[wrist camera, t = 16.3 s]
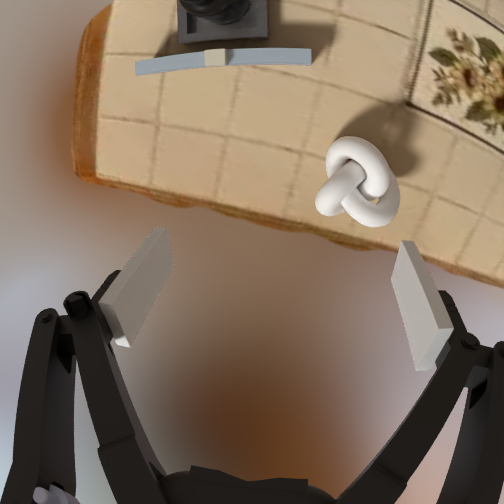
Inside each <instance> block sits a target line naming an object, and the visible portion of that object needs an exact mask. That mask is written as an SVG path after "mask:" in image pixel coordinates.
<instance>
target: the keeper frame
mask: <svg viewBox="0 0 504 504" xmlns="http://www.w3.org/2000/svg"><path fill="white" fill-rule="evenodd" d="M177 15H178V44H183V45H187V44H195V43H204V42H214V41H226V40H243V39H269V10H268V0H249V6H248V9H247V10H246V12H245V13H244V15H243V16H242V17H240V18H239V19H238V20H236V21H234V22H231V23H227V24H216V23H212V22H209V21H207V20H205V19H202V18H200V17H197V16H195V15H192V14H190V13H188V12H187V11H185V10H184V9H183V8H182V6H181V5H180V3H179V1H178V0H177Z"/></svg>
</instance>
